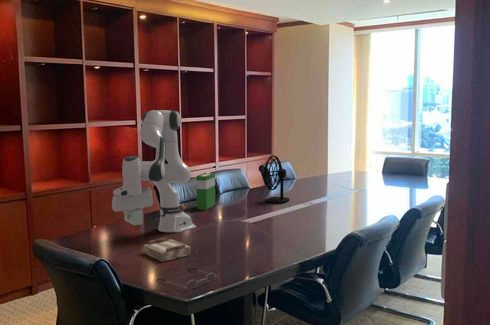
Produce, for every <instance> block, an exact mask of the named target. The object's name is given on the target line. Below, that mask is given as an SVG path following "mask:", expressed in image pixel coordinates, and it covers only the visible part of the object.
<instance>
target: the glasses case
mask: <svg viewBox="0 0 490 325" xmlns="http://www.w3.org/2000/svg"><path fill="white" fill-rule="evenodd" d="M126 213H127V214H128V215H130V219H126V217H125V214H124V213H123V216H124V222H126V223H129V224H131V225H133V226H139V225H140V226H141V225H143V224H144V217H143V216H144V213H143V211H140V209H139V208H137V209H131V210H128V212H126Z"/></svg>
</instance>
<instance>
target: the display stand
mask: <svg viewBox="0 0 490 325" xmlns="http://www.w3.org/2000/svg"><path fill="white" fill-rule="evenodd" d="M142 248H143V254H145V255H147V256H149V257H151V258H153V259H155V260H158V261H160V262H161V263H162V262H167V261H170V260H176V259H179V258H183V257H187V256H191V255H192V253H191V252H192V251H191V249H192V248H191V246H189V245H187V244H184V243H182V242H179V241H176V239H175V240H174V239H172V238H169V239H168V237H162V238H157V239H153V240H149V241H148V244H144V245H142Z"/></svg>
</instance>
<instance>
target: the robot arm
mask: <svg viewBox="0 0 490 325" xmlns="http://www.w3.org/2000/svg"><path fill="white" fill-rule="evenodd" d="M181 125H182V116H181V114H180V113H179V111H178V110H165V109H161V110H156V109H153V110H148V111H145V112H144V113H143V114H142V116H141V125H140V126H141V127H140V130H139V137H140V139H141V141H143V143H145V145H148V146H150V147H152V148H154V149H155V159H154V160H152V161H148V160H147V161H145V160H144V161H143V160H141V159H140V156H138V155H128V156H125V157H124V158H123V159H122V169H121V170H122V173H121V174H122V175H121V176H122V178H123V180H122V186H120V187H118V188H116V189H114V190H113V191H112V194H113V196H112V199H111V200H112V201H111V209H112V210H113V211H114V212H117V213H118V212H122V213H123V215H124V214H125V217H126V219H130V215H128V214H127V213H126V212H128V210H131V209H138V210H140V211H142V212H143V211H144V208H147V207H148V208H149V207H152V206H153V205H154V199H153V190H152V189H151V188H150V187H145V188H144V187H143V185H142V181H149V182H150V181H151V182H152V183H153V184H154V185H155V186H156V188H157V190H158V193H159V200H160V201H159V202H160V204H159V216H160V218H159V224H158V228H157V230H158V231H159V232H162V233H182V232H185V231H189V230H192V229H196V228H197V225H196V224H194V223H193V221H192V218H191V216H190V215H188V214H187V213H186V212H184V211H183V210H185V209H186V206H185V205H181V204H180V193H179V191H178V190H177V189H175V188H174V187H172V185H171V184H172V183H173V184H181V183H182V184H183V183H187V182H188V181H189V180H190V179H191V177H192V176H191V175H192V172H191V169H190V167H189V166H188V165H187V164H186V163H184V161H183V160H182V158H181V157H180V153H179V152H180V151H179V144H178V133H177V130H178V129H179V128H180V127H181ZM166 161H167V163H166Z"/></svg>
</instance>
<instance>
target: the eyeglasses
mask: <svg viewBox="0 0 490 325" xmlns="http://www.w3.org/2000/svg"><path fill="white" fill-rule="evenodd" d="M191 269H192V270H195V271H198V272H202V273H206V274H207V275H206V276H205V278H202V279H199V280H196V279H194V281H195V282H196V283H195V284H196V285H195V286H194V288H195V289H196V288H197V286H198V283H200V282H202V281H204V280H205V282H206V283H207V284H208V283H209V282H208V280H207V279H208V276H210V275H212V276H214V279H213V281H216V278H217V277H218V275H217V274H216V273H215V272H213V273H212V272H210V273H209V272H208V273H207V272H206V271H203V270H199V269H196V268H193V267H190V268H187V271H190V270H191ZM156 281H163V282H167V283H170V284H172V285H176V286H179V287H182V288H184V289H186V290H187V291H189V290H188V285H189V283H191V282H192V281H193V279H191V280H189V281H188V282H187V283H186V285H185V286H183V285H179V284H177V283H174V282H171V281H167V280H166V279H163V278H158V279H156Z"/></svg>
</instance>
